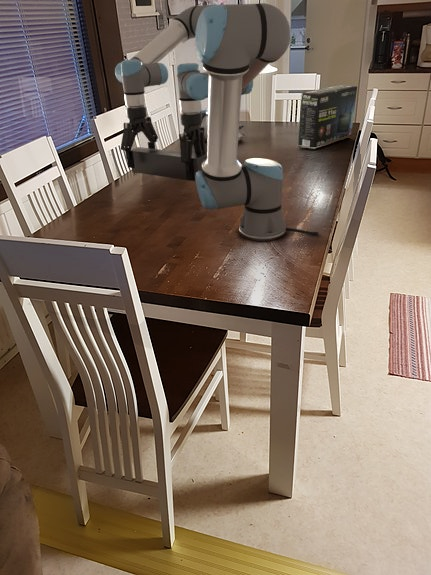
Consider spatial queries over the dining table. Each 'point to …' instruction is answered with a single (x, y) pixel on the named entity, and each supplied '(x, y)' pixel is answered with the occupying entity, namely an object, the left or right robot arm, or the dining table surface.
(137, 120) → the left robot arm
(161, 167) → the bar
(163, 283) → the dining table surface
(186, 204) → the dining table surface
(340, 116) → the router box
